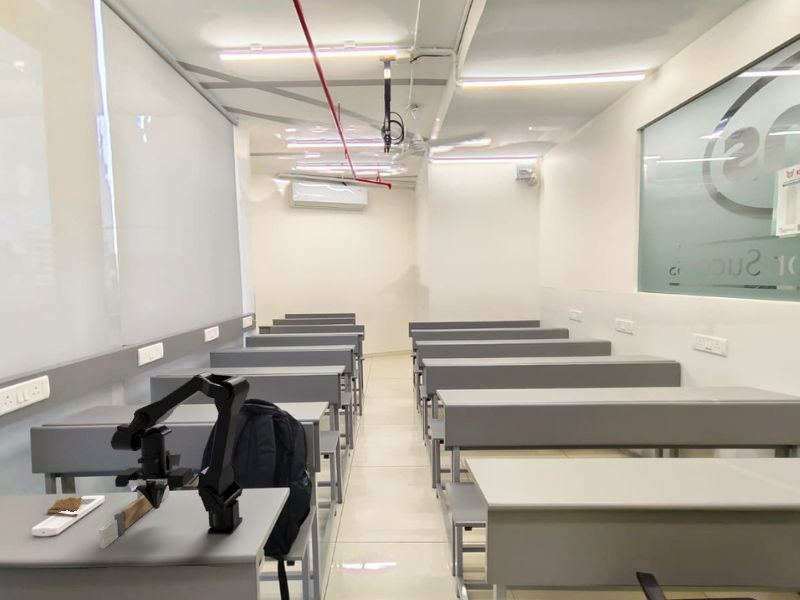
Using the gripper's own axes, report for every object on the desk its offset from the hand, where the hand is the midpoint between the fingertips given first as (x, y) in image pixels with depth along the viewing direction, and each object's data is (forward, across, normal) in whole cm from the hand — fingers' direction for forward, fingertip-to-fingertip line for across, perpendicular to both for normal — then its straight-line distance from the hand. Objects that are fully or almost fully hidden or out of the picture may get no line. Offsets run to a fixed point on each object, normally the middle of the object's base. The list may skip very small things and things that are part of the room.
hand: (157, 508), depth 111 cm
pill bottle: (+4, +11, -11) cm, 16 cm away
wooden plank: (+3, +7, -1) cm, 7 cm away
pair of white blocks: (+4, +6, -1) cm, 7 cm away
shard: (+4, +30, -6) cm, 31 cm away
